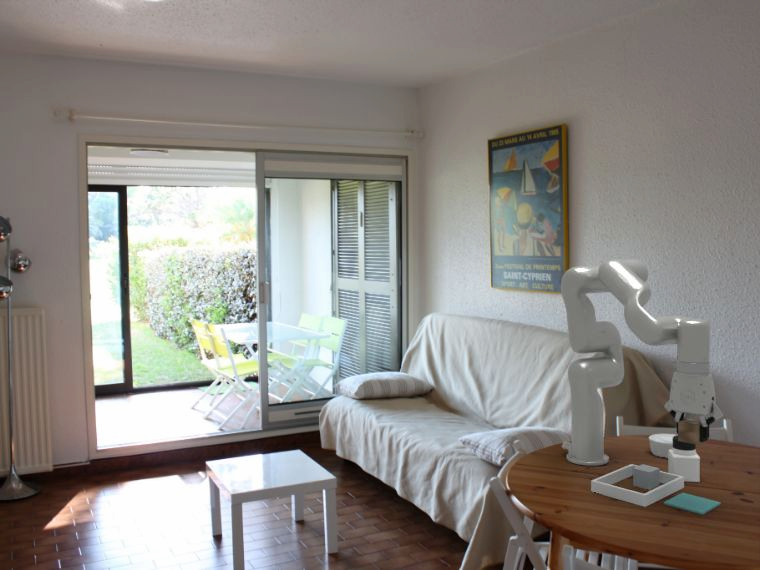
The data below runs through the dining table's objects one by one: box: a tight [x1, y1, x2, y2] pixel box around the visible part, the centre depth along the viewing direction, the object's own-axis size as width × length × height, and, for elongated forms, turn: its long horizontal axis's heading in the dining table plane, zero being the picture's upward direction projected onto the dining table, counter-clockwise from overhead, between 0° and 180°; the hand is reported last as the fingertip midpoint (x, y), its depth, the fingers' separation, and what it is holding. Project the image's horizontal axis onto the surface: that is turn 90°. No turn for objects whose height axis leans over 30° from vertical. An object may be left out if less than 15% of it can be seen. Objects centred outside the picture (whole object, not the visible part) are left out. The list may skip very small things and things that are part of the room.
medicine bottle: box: [667, 434, 701, 483], centre depth 202 cm, size 7×7×12 cm
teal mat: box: [663, 492, 722, 516], centre depth 182 cm, size 10×10×1 cm
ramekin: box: [648, 433, 677, 459], centre depth 225 cm, size 11×11×5 cm
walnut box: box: [677, 417, 707, 446], centre depth 181 cm, size 5×5×5 cm
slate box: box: [632, 463, 661, 491], centre depth 197 cm, size 5×5×5 cm
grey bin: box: [590, 463, 685, 508], centre depth 194 cm, size 16×21×3 cm
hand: (692, 438), depth 181 cm, fingers closed on walnut box, 5 cm apart
